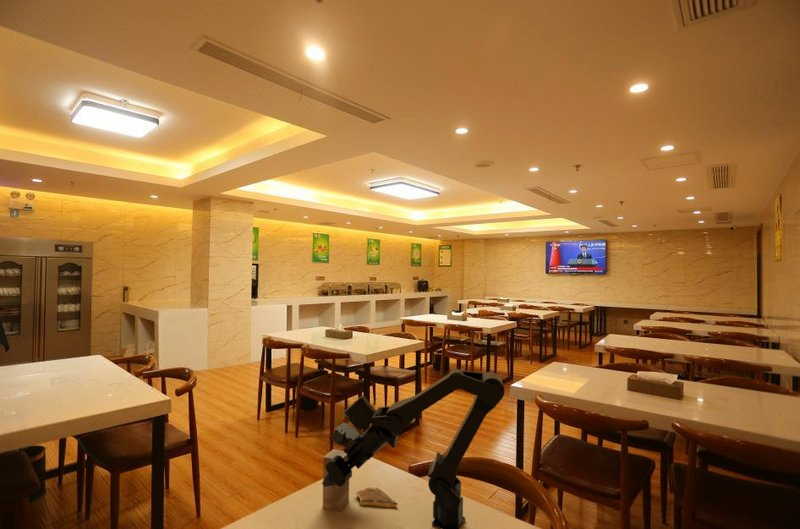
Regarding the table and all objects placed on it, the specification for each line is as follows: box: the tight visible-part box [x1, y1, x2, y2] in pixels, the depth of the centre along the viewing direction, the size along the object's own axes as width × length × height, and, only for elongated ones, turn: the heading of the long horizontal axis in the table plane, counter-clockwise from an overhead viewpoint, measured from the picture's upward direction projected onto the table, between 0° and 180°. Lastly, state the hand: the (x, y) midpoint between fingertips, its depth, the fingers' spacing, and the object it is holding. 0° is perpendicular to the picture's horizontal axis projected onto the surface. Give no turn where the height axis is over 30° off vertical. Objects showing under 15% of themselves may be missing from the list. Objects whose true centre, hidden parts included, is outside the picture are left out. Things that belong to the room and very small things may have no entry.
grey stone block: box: [322, 449, 350, 512], centre depth 104 cm, size 5×5×13 cm
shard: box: [355, 486, 399, 508], centre depth 105 cm, size 11×8×2 cm
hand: (333, 476), depth 105 cm, fingers open, 9 cm apart
